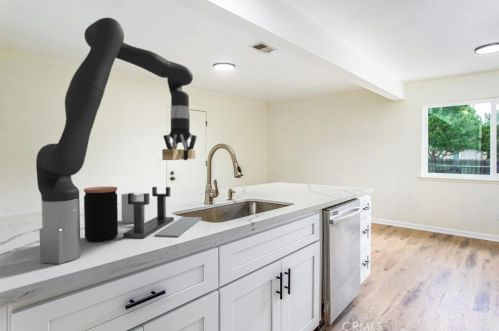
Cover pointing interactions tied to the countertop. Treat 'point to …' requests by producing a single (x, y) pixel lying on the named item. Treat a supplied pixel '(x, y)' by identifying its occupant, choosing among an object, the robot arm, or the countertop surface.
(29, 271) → the countertop surface
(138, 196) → the supplement box
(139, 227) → the rack
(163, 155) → the rail
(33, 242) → the countertop surface
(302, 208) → the countertop surface
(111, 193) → the coffee jar
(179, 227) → the mat
